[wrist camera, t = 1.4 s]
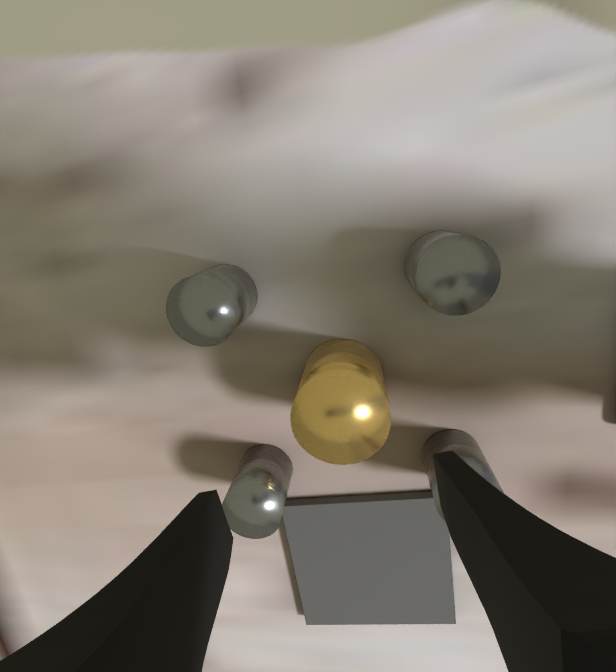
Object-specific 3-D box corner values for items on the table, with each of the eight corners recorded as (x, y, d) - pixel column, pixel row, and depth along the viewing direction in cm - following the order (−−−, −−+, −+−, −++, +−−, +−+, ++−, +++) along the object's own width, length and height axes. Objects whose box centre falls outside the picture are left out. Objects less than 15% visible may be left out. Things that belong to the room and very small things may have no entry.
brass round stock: (378, 334, 21) (385, 370, 16) (386, 407, 22) (395, 461, 17) (298, 344, 22) (282, 381, 17) (310, 414, 23) (299, 467, 18)
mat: (444, 490, 23) (446, 497, 23) (453, 614, 26) (455, 623, 26) (282, 499, 25) (280, 506, 24) (307, 616, 28) (306, 624, 27)
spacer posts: (470, 225, 19) (499, 229, 15) (480, 475, 23) (505, 528, 19) (193, 269, 21) (158, 282, 17) (247, 490, 25) (228, 539, 21)
